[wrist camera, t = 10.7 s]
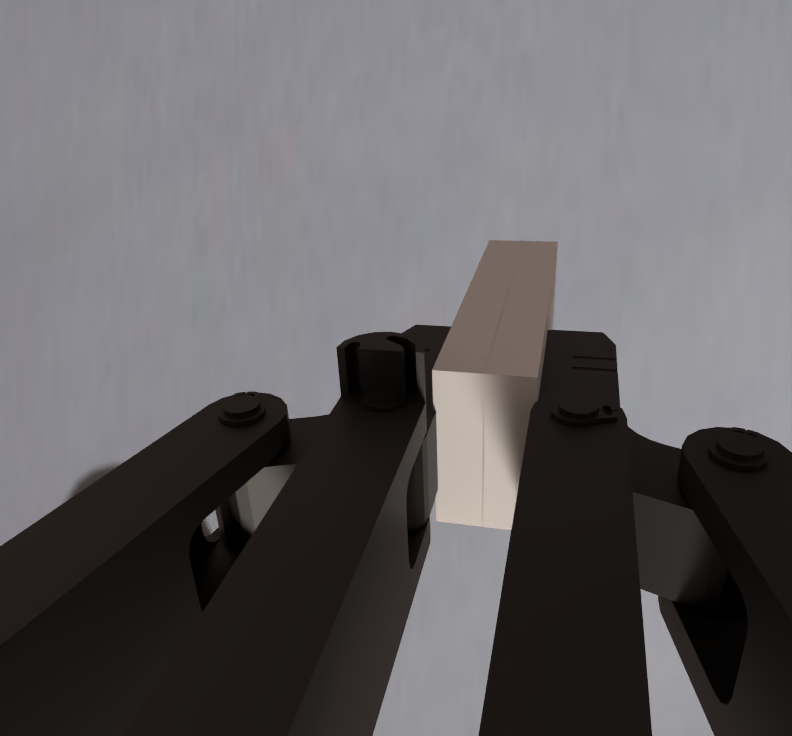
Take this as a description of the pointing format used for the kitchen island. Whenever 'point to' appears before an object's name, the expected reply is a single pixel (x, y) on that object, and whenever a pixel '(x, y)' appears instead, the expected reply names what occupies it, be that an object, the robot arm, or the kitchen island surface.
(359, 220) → the kitchen island surface
